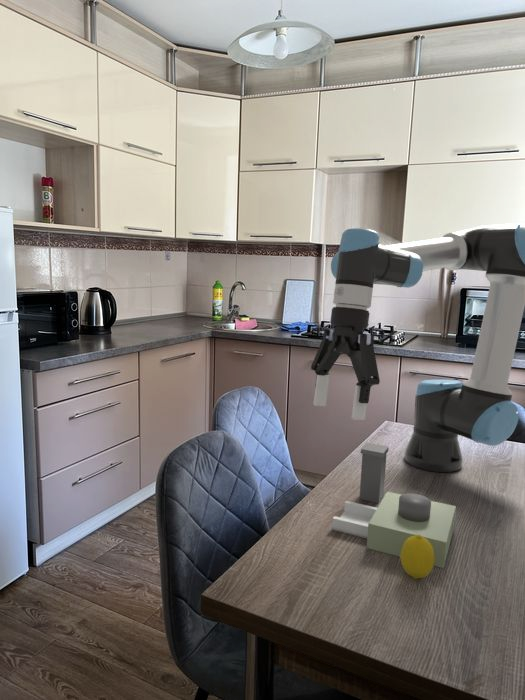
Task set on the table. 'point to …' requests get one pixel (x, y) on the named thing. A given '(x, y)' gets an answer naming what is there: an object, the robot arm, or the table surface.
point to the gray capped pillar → (373, 472)
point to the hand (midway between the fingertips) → (337, 412)
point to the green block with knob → (400, 523)
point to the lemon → (417, 556)
